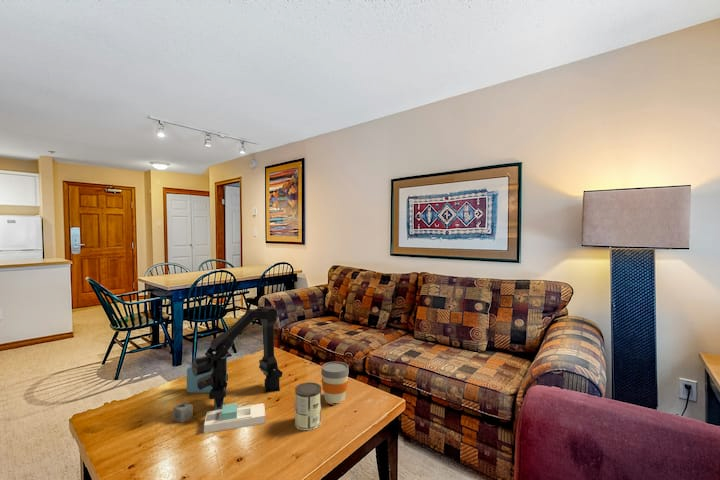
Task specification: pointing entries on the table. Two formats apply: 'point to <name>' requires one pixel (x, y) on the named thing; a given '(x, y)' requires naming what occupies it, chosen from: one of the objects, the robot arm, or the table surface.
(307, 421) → the coffee can
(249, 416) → the socket strip
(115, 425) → the table surface
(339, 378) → the reusable coffee cup
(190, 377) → the data package
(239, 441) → the table surface
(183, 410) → the dice cube
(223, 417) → the block
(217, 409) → the white rectangular block
